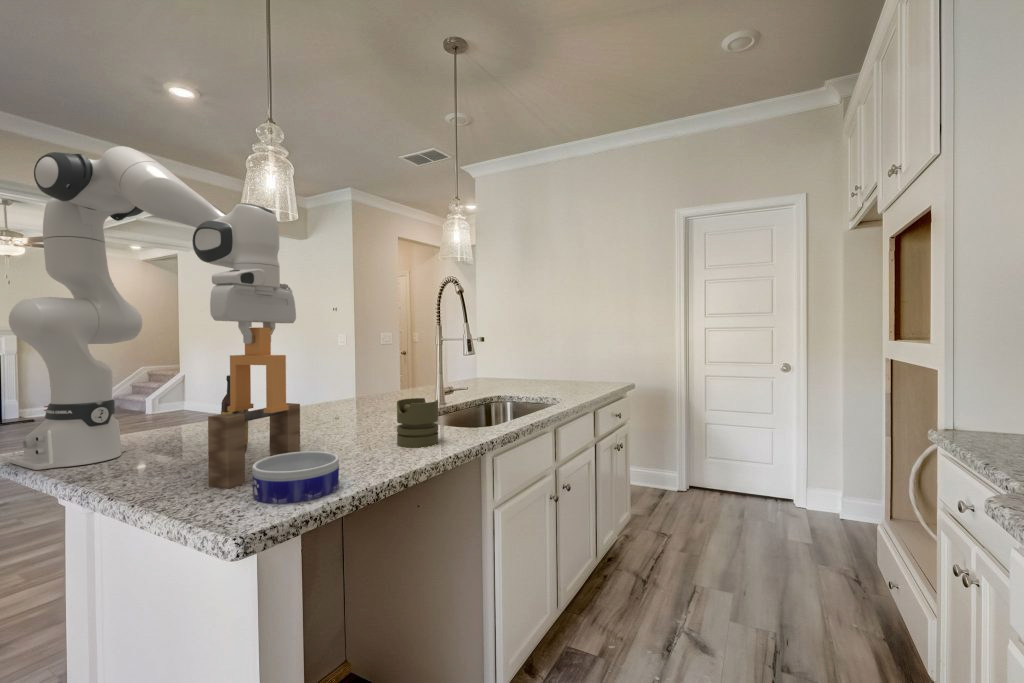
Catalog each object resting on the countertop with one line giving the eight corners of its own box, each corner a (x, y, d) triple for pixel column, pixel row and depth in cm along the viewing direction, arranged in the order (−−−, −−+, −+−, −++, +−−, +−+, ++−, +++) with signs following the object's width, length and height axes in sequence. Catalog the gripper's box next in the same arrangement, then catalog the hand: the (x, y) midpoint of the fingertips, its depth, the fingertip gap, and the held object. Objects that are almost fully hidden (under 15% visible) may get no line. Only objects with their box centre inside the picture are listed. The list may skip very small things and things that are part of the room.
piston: (420, 397, 140) (446, 400, 132) (420, 437, 140) (446, 442, 133) (388, 401, 131) (414, 404, 124) (388, 444, 131) (414, 450, 124)
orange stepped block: (227, 411, 101) (226, 327, 101) (246, 407, 106) (245, 328, 106) (271, 413, 98) (270, 327, 98) (288, 409, 103) (288, 327, 103)
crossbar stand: (208, 486, 93) (208, 416, 93) (282, 461, 113) (282, 402, 113) (228, 488, 92) (228, 417, 92) (300, 462, 111) (299, 403, 111)
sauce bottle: (235, 454, 119) (234, 376, 119) (214, 453, 120) (213, 375, 120) (254, 448, 125) (253, 374, 125) (234, 447, 127) (233, 374, 126)
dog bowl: (354, 489, 92) (354, 459, 92) (273, 511, 81) (273, 476, 81) (315, 475, 102) (315, 447, 102) (239, 492, 90) (239, 461, 90)
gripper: (280, 285, 113) (280, 342, 113) (204, 274, 93) (204, 344, 93) (302, 284, 111) (303, 342, 111) (229, 273, 91) (230, 344, 92)
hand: (257, 343), depth 102 cm, fingers closed on orange stepped block, 3 cm apart
